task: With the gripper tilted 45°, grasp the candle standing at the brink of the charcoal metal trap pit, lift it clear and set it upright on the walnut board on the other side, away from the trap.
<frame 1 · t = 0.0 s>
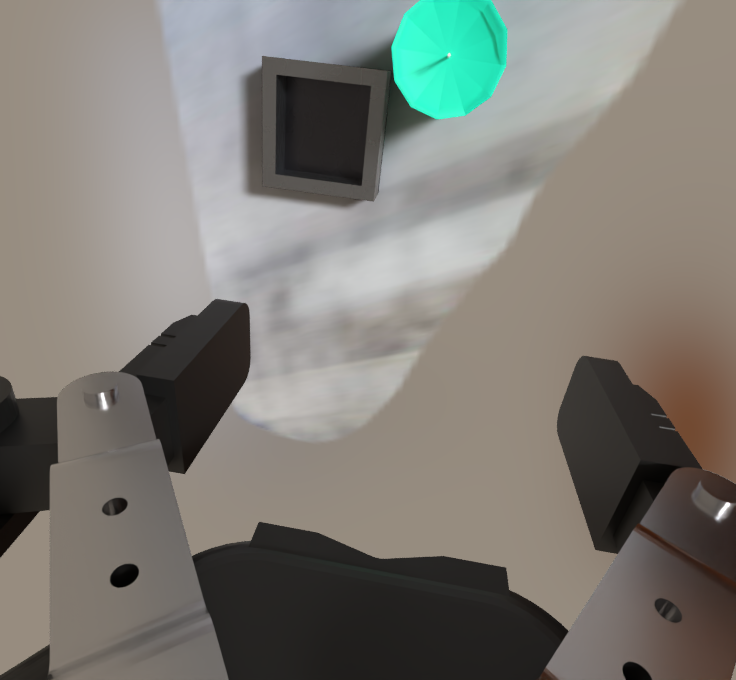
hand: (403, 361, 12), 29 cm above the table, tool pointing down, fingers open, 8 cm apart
trap pit: (329, 128, 37), on the table
candle: (447, 63, 34), on the table
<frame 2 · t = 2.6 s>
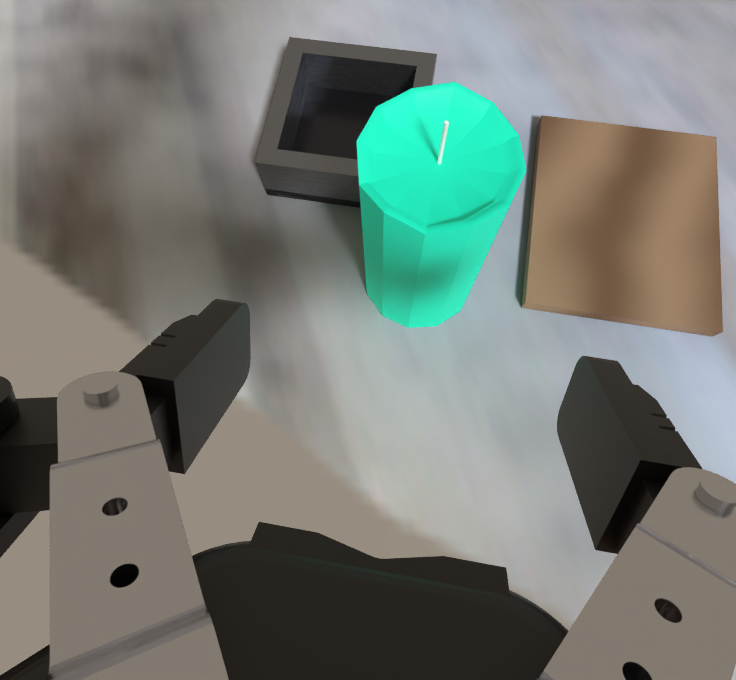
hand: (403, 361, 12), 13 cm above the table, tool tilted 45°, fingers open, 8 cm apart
trap pit: (351, 143, 29), on the table
walnut board: (618, 223, 27), on the table
candle: (417, 278, 27), on the table
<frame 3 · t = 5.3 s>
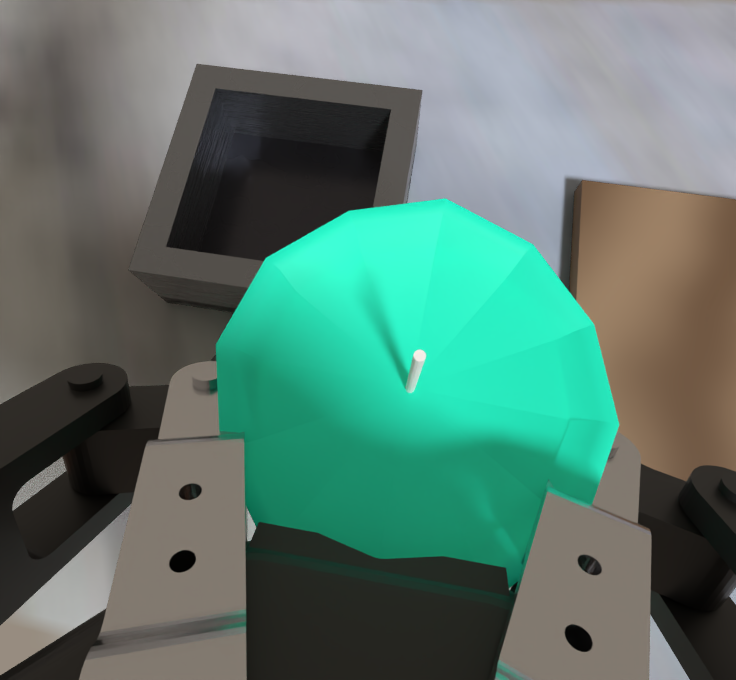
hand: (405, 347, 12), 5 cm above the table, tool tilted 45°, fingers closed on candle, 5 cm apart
trap pit: (297, 220, 20), on the table
walnut board: (704, 350, 18), on the table
candle: (394, 442, 17), on the table, touching gripper
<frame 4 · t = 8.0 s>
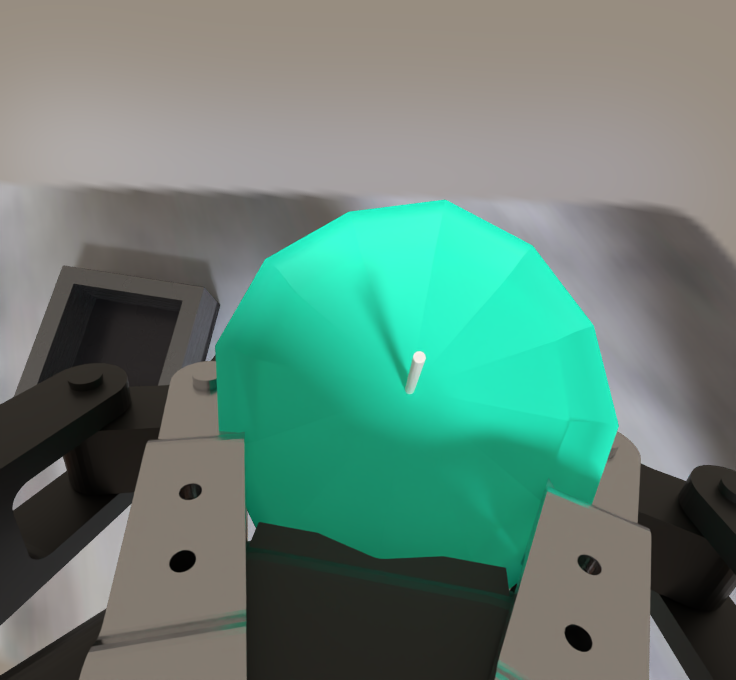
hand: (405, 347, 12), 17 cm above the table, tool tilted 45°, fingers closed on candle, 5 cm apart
trap pit: (135, 359, 30), on the table
candle: (393, 442, 17), point 11 cm above the table, touching gripper
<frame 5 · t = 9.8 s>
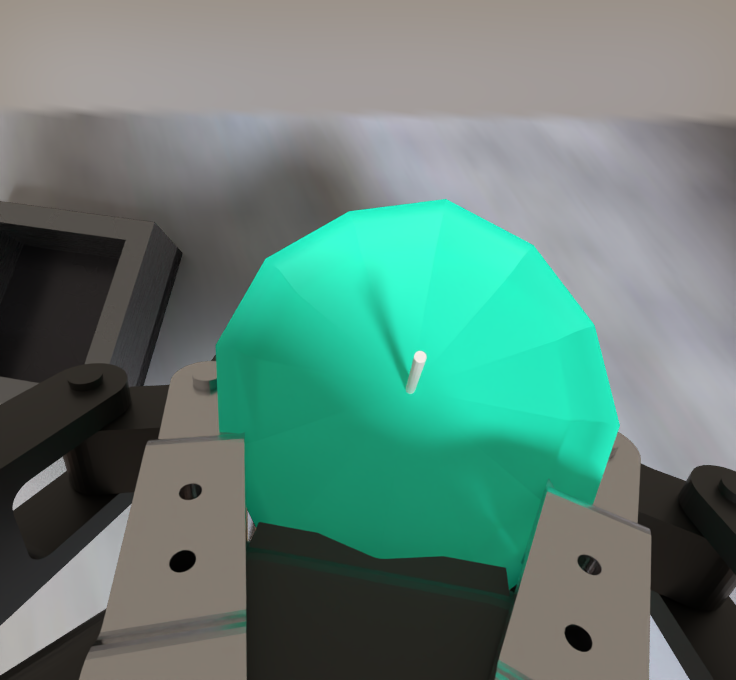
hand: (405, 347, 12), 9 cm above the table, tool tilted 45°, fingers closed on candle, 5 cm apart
trap pit: (72, 322, 23), on the table
candle: (394, 442, 17), point 4 cm above the table, touching gripper
when the fingers open (7 cm above the table, at t = 10.9 s): candle drops 1 cm, resting on walnut board.
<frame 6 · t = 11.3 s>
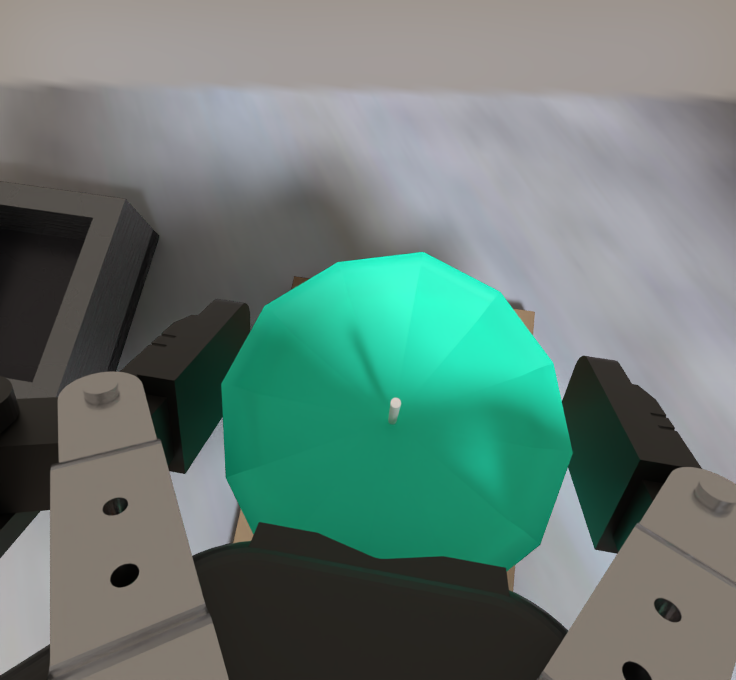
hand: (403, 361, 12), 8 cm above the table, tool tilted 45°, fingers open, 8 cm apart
trap pit: (36, 310, 21), on the table
walnut board: (389, 441, 19), on the table
candle: (386, 452, 18), point 1 cm above the table, touching walnut board
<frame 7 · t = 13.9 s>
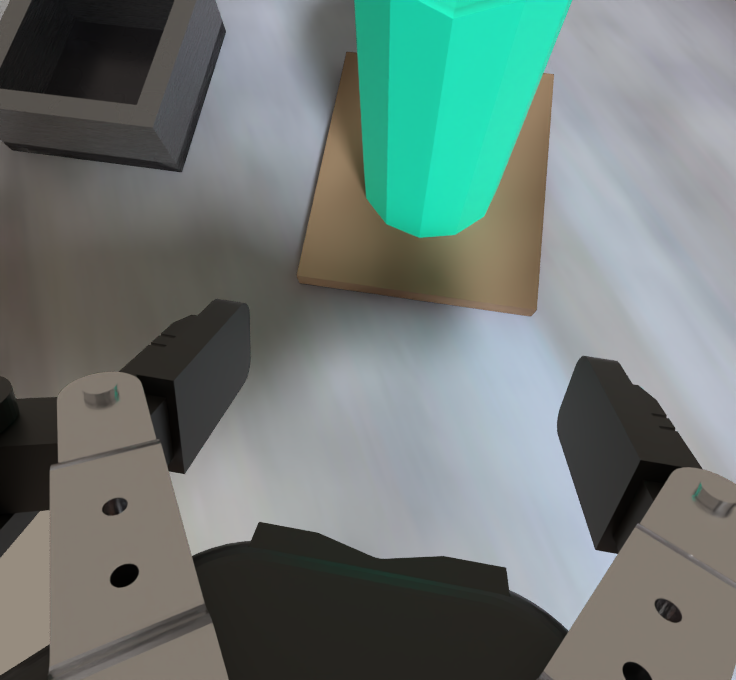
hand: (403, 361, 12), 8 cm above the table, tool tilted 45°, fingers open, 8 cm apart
trap pit: (122, 88, 24), on the table
walnut board: (431, 179, 22), on the table
candle: (429, 180, 22), point 1 cm above the table, touching walnut board
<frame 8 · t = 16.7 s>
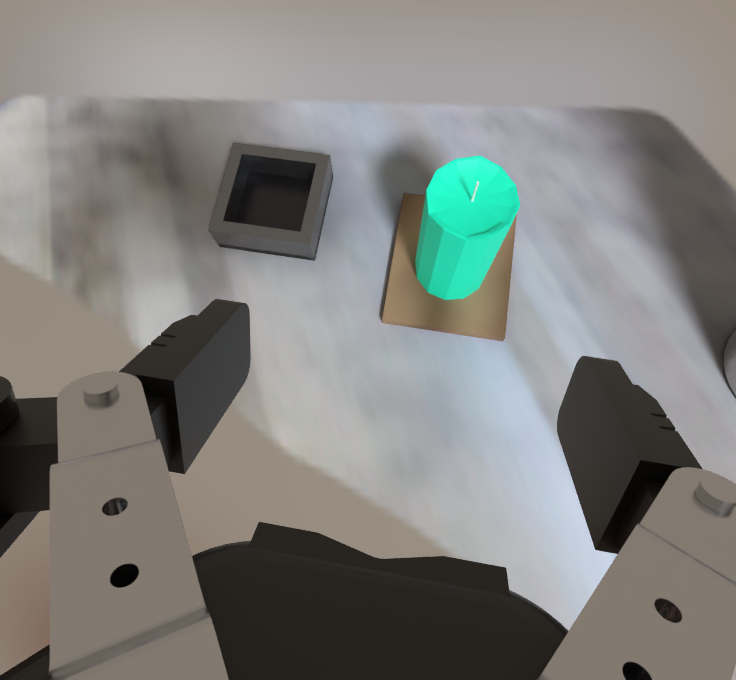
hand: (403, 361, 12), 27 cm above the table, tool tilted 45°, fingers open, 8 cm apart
trap pit: (277, 210, 43), on the table
walnut board: (450, 266, 41), on the table
candle: (449, 268, 41), point 1 cm above the table, touching walnut board
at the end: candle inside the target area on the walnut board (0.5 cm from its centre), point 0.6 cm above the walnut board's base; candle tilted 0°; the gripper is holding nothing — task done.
